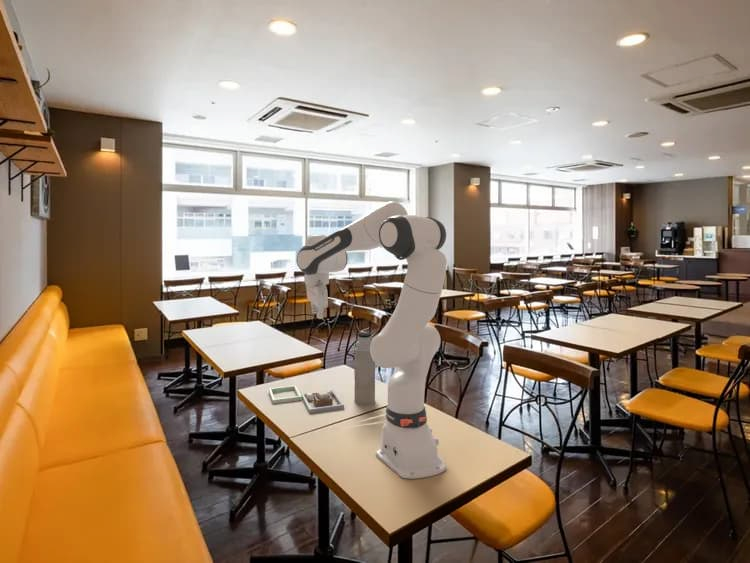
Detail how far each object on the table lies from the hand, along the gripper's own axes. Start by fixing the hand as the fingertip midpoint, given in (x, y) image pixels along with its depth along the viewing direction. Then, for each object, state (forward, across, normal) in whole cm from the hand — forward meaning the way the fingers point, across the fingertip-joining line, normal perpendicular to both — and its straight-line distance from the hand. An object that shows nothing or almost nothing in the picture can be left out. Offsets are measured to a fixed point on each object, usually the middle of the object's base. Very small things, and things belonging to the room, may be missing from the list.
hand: (317, 315), depth 165 cm
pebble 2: (+35, +6, -6) cm, 36 cm away
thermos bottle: (+36, -3, -18) cm, 40 cm away
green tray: (+36, +13, +11) cm, 39 cm away
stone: (+34, -1, -2) cm, 34 cm away
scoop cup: (+35, -1, -2) cm, 35 cm away
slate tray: (+36, +1, -2) cm, 36 cm away
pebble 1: (+35, +5, +2) cm, 35 cm away
